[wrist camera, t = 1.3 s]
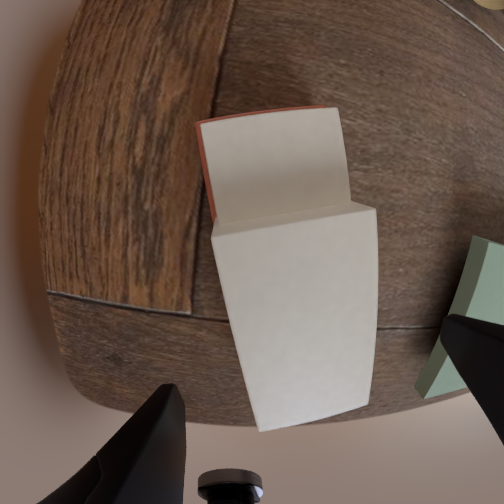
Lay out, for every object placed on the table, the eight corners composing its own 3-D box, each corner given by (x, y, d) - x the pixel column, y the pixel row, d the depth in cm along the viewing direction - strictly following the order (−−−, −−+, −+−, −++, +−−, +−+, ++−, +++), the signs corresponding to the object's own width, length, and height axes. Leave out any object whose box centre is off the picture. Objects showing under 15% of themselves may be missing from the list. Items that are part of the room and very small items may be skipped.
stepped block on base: (338, 359, 16) (369, 416, 11) (250, 378, 16) (258, 444, 11) (315, 110, 12) (362, 83, 7) (197, 126, 12) (179, 102, 7)
